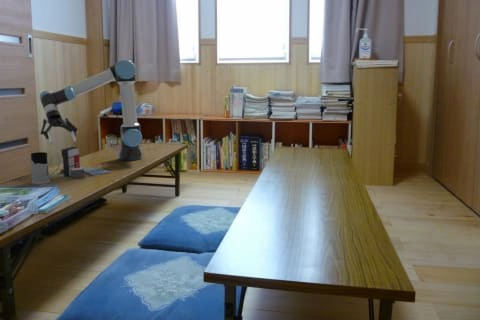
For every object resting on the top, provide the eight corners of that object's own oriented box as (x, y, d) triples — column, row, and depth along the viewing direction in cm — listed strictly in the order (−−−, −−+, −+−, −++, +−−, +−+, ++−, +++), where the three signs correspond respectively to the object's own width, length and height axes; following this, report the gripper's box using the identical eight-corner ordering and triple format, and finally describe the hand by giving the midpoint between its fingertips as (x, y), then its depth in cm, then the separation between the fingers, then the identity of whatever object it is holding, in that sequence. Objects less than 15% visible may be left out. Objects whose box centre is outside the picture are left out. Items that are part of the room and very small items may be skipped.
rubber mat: (98, 168, 263) (98, 167, 263) (110, 172, 252) (110, 171, 251) (80, 170, 256) (80, 169, 256) (91, 175, 244) (91, 174, 244)
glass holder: (32, 180, 229) (30, 152, 227) (61, 179, 234) (60, 151, 232) (30, 184, 221) (28, 155, 219) (61, 182, 226) (59, 154, 224)
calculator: (69, 177, 239) (68, 149, 237) (62, 176, 240) (61, 149, 238) (81, 173, 250) (79, 146, 247) (74, 172, 251) (72, 146, 248)
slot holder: (71, 171, 255) (70, 162, 254) (84, 177, 240) (84, 168, 239) (59, 172, 251) (59, 163, 250) (73, 178, 236) (72, 169, 235)
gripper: (72, 117, 269) (83, 144, 261) (29, 118, 253) (39, 147, 244) (75, 108, 264) (86, 136, 256) (31, 110, 248) (41, 139, 240)
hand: (63, 142), depth 250 cm, fingers open, 13 cm apart
